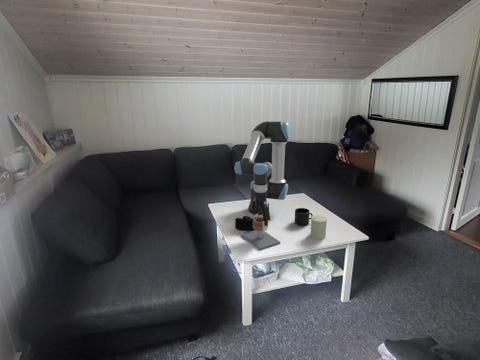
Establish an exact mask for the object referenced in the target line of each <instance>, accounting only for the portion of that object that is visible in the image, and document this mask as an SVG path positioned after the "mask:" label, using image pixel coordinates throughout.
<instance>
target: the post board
mask: <svg viewBox="0 0 480 360" xmlns="http://www.w3.org/2000/svg"><path fill="white" fill-rule="evenodd" d="M241 237H242V238H244V239H245V240H246V241H248V242H249V243H250V244H251V245H253V246H254V247H255V248H257V249H258V250H259V251H262V250H265V249H268V248H272V247H274V246H276V245H280V244H281V241H280V240H279V239H277V238H275V237H274V236H273V235H271V234H270V233H268V232H266V230H265V231H256V230H254V231H246V232H244V233H241Z"/></svg>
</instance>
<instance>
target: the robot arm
mask: <svg viewBox="0 0 480 360" xmlns="http://www.w3.org/2000/svg"><path fill="white" fill-rule="evenodd" d="M290 138H291V127H290V124H289V123H288V122H287V121H267V120H266V121H262V122H260V123H259V124H258V125H256V126H255V127H254V128H253V130H252V131H251V133H250V139H249V142H248V144H247V147H246V149H245V150H244V151H245V152H244V154H243V156H242V158H241V160H240V161H236V162H235V164H234V167H233V168H234V173H235V174H237V175H241V176H242V175H245V176H253V180H252V181H251V182H250V187H249V188H250V194H249V195H250V200H249V205H248V206H247V207H248V208H247V210H248V213H249V214H253V219H254V218H256V217H259V215H262V217H263V219H264V220H263V231H265V232H266V231H268V228H267V225H268V226H269V221H271V216H270V215H271V214H270V203H269V202H268V200H267V199H269V200H278V201H284V200H285V199H286V198H287V196H288V195H287V194H288V189H289V184H288V183H287V181H286V179H285V159H286V157H285V155H286V145H287V143H288V141H289V140H290ZM266 139H267V140H270V144H272V145H271V146H272V149H271V150H272V151H271V162H269V161H265V162H263V163H262V162H255V160H256V157H257V155H258V152H259V150H260V147H261V144H262V143H263V142H264V141H265V140H266ZM270 175H271V178H270V179H269V181H268V177H269V176H270Z"/></svg>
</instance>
